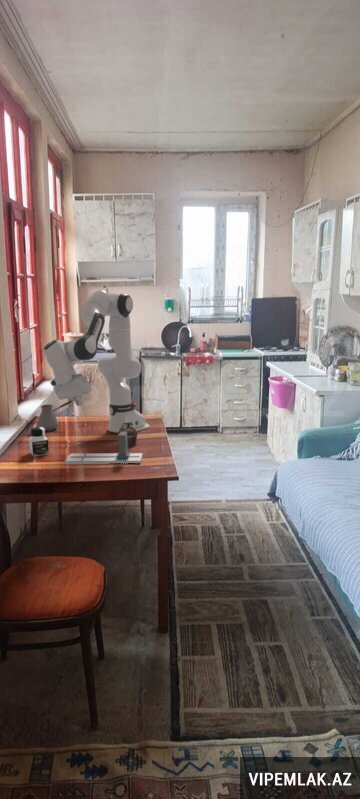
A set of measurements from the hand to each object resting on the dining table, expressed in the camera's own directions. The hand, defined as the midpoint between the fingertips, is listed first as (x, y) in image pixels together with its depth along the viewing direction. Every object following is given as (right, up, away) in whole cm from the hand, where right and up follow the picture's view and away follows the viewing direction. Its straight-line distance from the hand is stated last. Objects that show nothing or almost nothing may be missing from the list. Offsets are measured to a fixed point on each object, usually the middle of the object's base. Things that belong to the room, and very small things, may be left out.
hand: (80, 405), depth 218 cm
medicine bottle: (-20, -22, +7) cm, 31 cm away
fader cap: (+20, -22, -4) cm, 30 cm away
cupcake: (+19, -19, +21) cm, 34 cm away
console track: (+11, -24, -4) cm, 27 cm away
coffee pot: (-22, -13, +50) cm, 56 cm away
